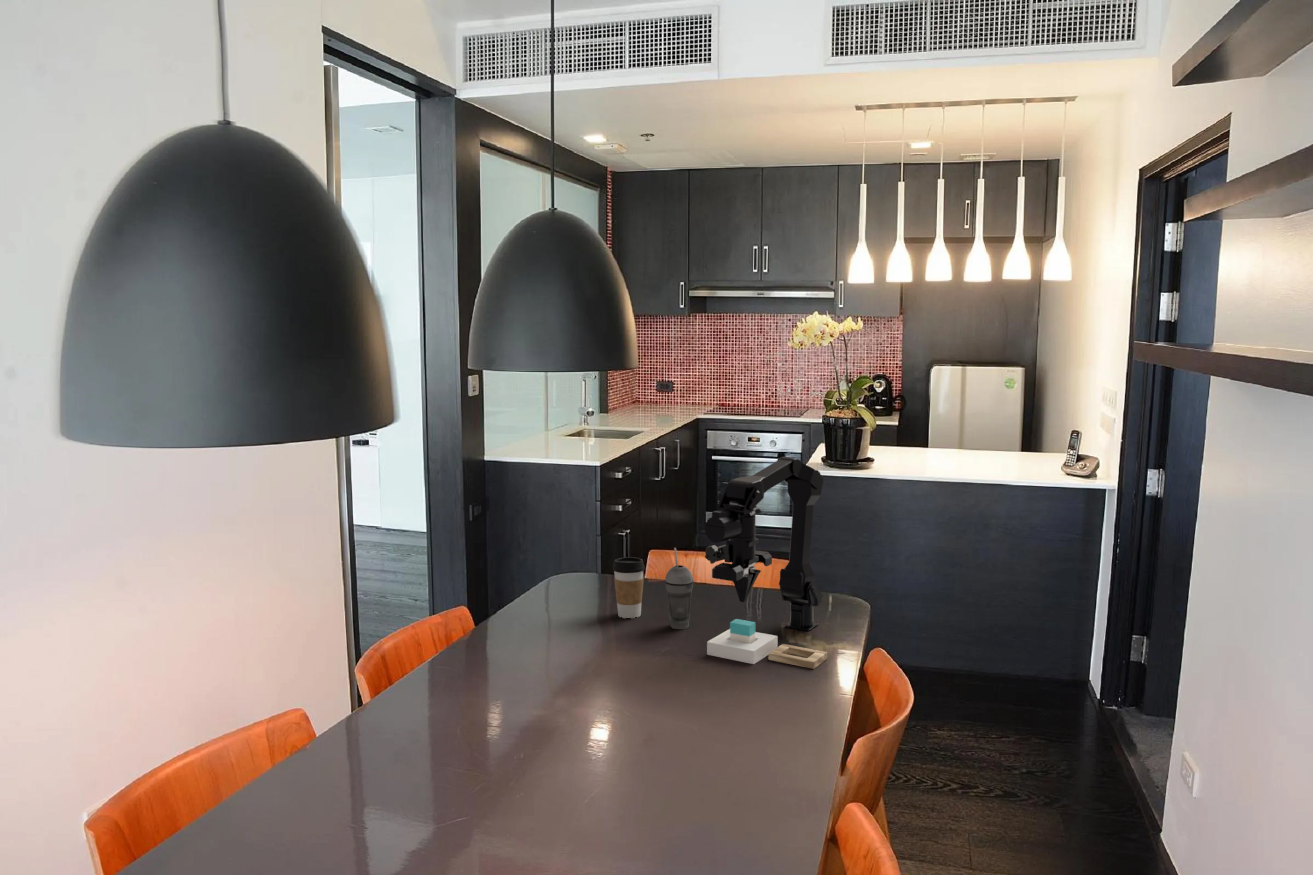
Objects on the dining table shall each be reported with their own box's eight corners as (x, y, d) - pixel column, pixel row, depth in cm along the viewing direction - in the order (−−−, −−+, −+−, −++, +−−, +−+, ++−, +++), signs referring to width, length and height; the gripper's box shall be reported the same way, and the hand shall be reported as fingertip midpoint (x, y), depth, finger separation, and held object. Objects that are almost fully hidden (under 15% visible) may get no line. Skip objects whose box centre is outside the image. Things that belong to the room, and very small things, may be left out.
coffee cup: (608, 618, 242) (607, 561, 240) (619, 609, 250) (618, 554, 248) (639, 621, 240) (639, 564, 238) (649, 611, 248) (648, 556, 246)
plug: (736, 647, 219) (736, 618, 219) (755, 651, 217) (755, 622, 216) (730, 651, 217) (730, 622, 216) (749, 655, 214) (749, 625, 213)
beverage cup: (682, 632, 230) (682, 553, 228) (659, 627, 235) (658, 549, 232) (699, 625, 236) (699, 547, 234) (676, 619, 240) (675, 543, 238)
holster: (782, 649, 217) (782, 643, 217) (827, 658, 212) (827, 652, 211) (768, 659, 211) (768, 653, 211) (813, 668, 205) (813, 662, 205)
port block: (732, 639, 225) (732, 627, 225) (777, 648, 219) (777, 635, 218) (707, 654, 215) (707, 641, 215) (753, 664, 209) (753, 651, 208)
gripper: (731, 523, 226) (731, 587, 228) (691, 538, 210) (691, 606, 212) (773, 528, 220) (772, 593, 221) (735, 544, 204) (735, 614, 206)
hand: (742, 601), depth 215 cm, fingers closed
